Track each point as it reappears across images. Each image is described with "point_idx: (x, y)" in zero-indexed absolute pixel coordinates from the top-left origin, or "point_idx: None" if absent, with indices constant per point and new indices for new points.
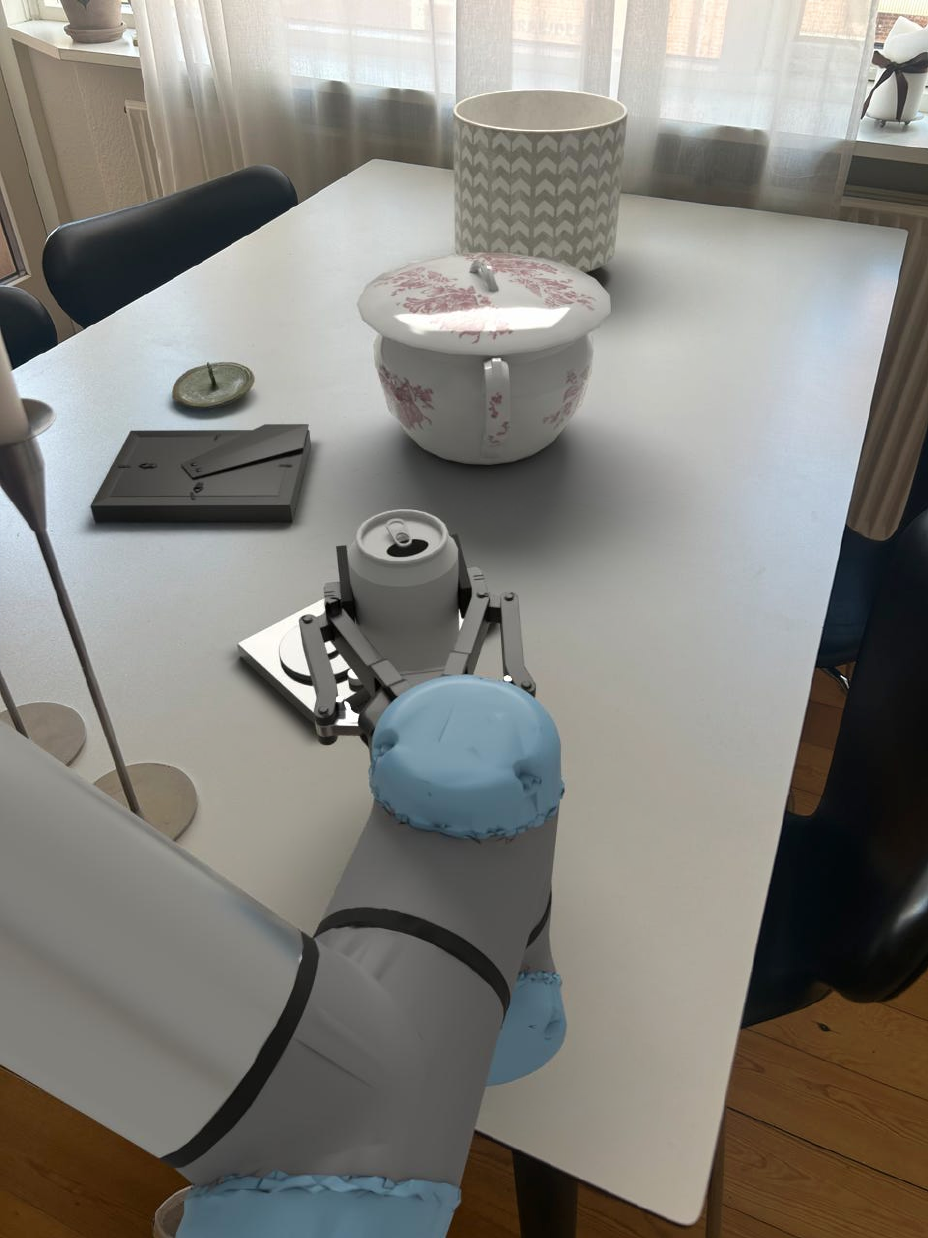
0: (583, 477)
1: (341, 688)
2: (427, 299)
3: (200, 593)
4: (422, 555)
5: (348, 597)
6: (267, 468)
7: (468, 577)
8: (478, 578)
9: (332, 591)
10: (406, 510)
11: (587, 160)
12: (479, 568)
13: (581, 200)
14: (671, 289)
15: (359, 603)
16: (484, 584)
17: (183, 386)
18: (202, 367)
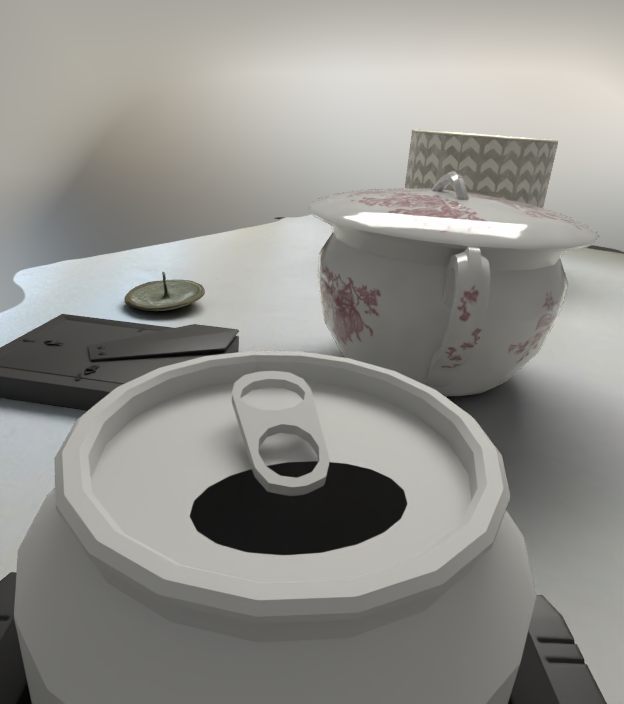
0: (546, 426)
1: None
2: (386, 198)
3: (14, 501)
4: (381, 573)
5: (8, 682)
6: (178, 362)
7: (538, 659)
8: (560, 655)
9: (3, 616)
10: (325, 358)
11: (525, 166)
12: (549, 605)
13: (515, 199)
14: (582, 287)
15: None
16: (598, 697)
17: (138, 292)
18: (162, 281)
